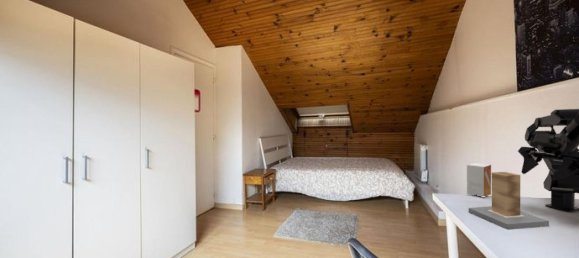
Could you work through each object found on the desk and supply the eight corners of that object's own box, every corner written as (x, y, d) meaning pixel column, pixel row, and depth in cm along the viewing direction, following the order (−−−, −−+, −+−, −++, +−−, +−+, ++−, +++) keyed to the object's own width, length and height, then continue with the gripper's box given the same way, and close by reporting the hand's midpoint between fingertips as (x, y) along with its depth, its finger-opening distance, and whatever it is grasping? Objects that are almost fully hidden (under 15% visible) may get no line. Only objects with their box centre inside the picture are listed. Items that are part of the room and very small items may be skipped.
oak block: (505, 209, 84) (505, 171, 83) (520, 215, 79) (520, 174, 78) (491, 210, 83) (491, 172, 83) (506, 216, 78) (506, 175, 78)
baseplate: (504, 209, 89) (504, 204, 89) (549, 225, 75) (549, 220, 75) (468, 212, 87) (468, 207, 87) (507, 229, 73) (507, 223, 73)
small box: (484, 198, 102) (484, 166, 101) (466, 194, 107) (466, 164, 107) (491, 194, 106) (491, 164, 106) (474, 191, 111) (474, 162, 111)
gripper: (522, 124, 91) (495, 155, 90) (588, 125, 72) (555, 164, 71) (541, 145, 92) (514, 176, 91) (611, 151, 73) (578, 190, 72)
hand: (537, 176), depth 81 cm, fingers open, 9 cm apart
